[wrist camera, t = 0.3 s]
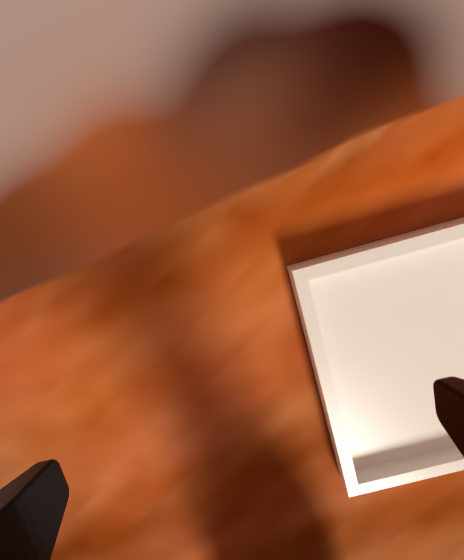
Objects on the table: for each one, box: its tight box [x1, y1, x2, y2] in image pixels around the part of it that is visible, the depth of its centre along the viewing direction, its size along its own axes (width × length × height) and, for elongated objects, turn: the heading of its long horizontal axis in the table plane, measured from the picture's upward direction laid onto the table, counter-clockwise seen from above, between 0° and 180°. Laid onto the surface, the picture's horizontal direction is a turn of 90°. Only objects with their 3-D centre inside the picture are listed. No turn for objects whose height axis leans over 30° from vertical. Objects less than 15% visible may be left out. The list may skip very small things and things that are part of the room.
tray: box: [287, 217, 464, 497], centre depth 22 cm, size 16×12×2 cm
